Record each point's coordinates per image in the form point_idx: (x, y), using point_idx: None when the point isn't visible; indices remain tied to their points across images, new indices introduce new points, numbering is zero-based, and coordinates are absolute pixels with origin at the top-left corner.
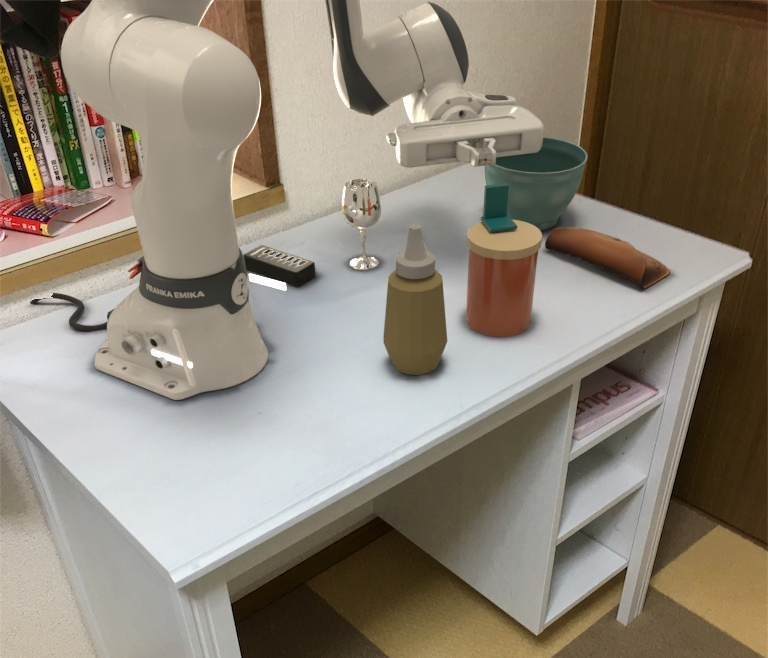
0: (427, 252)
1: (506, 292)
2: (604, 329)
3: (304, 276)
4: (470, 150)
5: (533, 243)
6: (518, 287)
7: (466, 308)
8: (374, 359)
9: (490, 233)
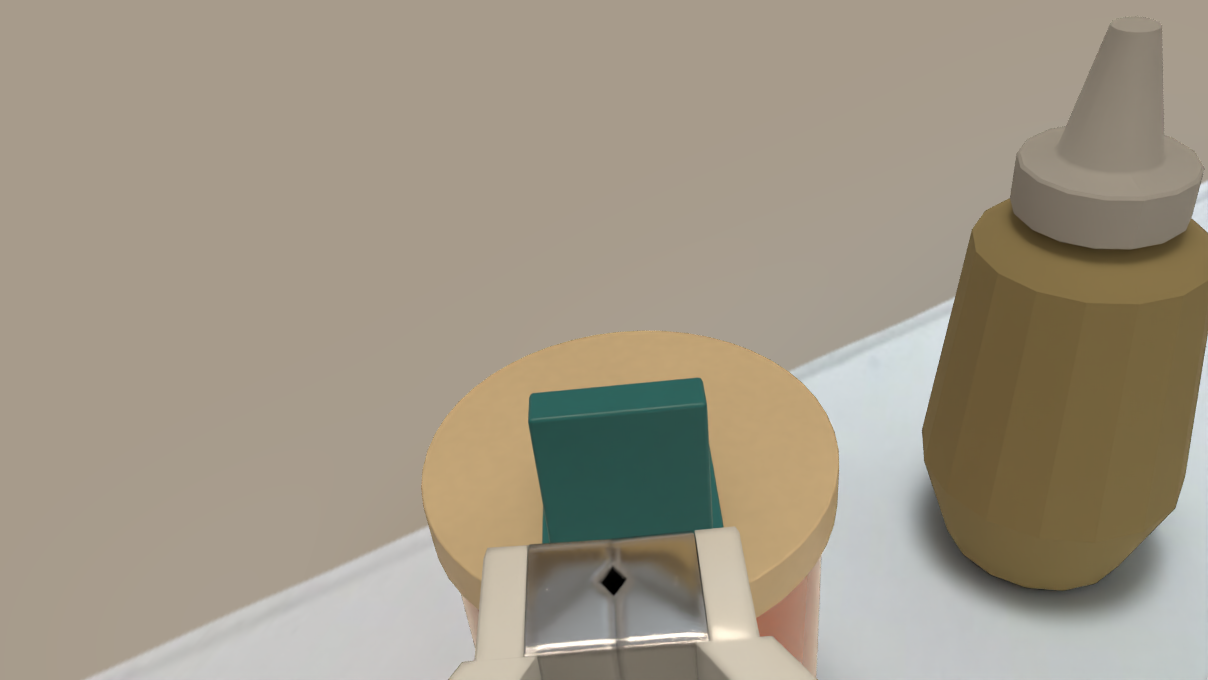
0: (1058, 175)
1: None
2: (279, 630)
3: None
4: (765, 640)
5: (521, 367)
6: None
7: None
8: (1204, 571)
9: None
